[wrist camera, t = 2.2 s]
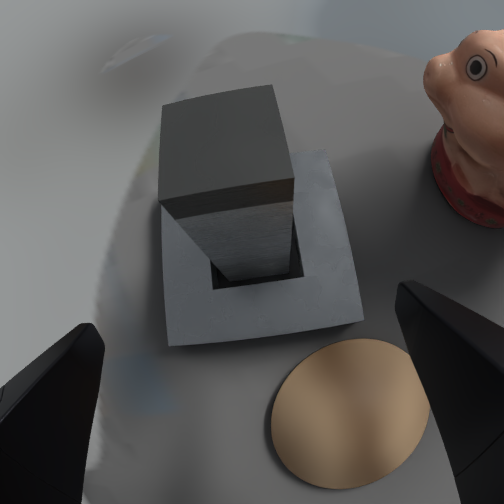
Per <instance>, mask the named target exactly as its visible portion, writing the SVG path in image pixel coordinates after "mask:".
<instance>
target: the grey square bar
mask: <svg viewBox="0 0 504 504" xmlns="http://www.w3.org/2000/svg"><path fill="white" fill-rule="evenodd" d="M294 181H295V177H294V172H293V168H292V163H291V159H290V155H289V150H288V146H287V142H286V137H285V133H284V129H283V125H282V121H281V117H280V113H279V109H278V105H277V101H276V97H275V94H274V90H273V86H272V85H265V86H258V87H251V88H244V89H238V90H232V91H226V92H221V93H216V94H211V95H206V96H201V97H196V98H192V99H187V100H183V101H179V102H175V103H171V104H167V105H163V106H162V118H161V133H160V151H159V178H158V201H159V202H160V204H161V205H162V206H163V207H164V208H165V209H166V211H167V212H168V213H169V214H170V215H171V216H172V217H173V219H174V220H175V221H176V222H177V223H178V224H179V225H180V227H181V228H182V229H183V230H184V231H185V232H186V233H187V235H188V236H189V237H190V238H191V239H192V240H193V241H194V242H195V244H196V245H197V246H198V247H199V248H200V249H201V250H202V251H203V253H204V254H205V255H206V256H207V257H208V258H209V259H210V260H211V261H212V263H213V264H214V265H215V266H216V267H217V268H218V269H219V270H220V271H221V272H222V274H223V275H224V276H225V277H226V278H227V279H228V280H229V281H238V280H245V279H252V278H259V277H266V276H273V275H280V274H287V273H289V263H290V249H291V234H292V218H293V201H294Z"/></svg>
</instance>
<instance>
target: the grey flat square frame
mask: <svg viewBox="0 0 504 504" xmlns="http://www.w3.org/2000/svg"><path fill="white" fill-rule="evenodd" d="M289 155H290V159H291V163H292V168H293V172H294V177H295V181H294V201H293V218H292V225H293V230H294V236H295V241H296V247H297V253H298V259H299V265H300V271H301V278H294V279H287V280H281V281H274V282H267V283H260V284H253V285H246V286H238V287H231V288H223V289H219V286H218V276H217V267H216V266H215V265H214V264H213V263H212V261H211V260H210V259H209V258H208V257H207V256H206V255H205V254H204V253H203V251H202V250H201V249H200V248H199V247H198V246H197V245H196V244H195V242H194V241H193V240H192V239H191V238H190V237H189V236H188V235H187V233H186V232H185V231H184V230H183V229H182V228H181V227H180V225H179V224H178V223H177V222H176V221H175V220H174V219H173V217H172V216H171V215H170V214H169V213H168V212H167V211H166V209H165V208H164V207H163V206H162V205H161V228H162V263H163V284H164V300H165V314H166V326H167V337H168V346H183V345H196V344H207V343H218V342H228V341H237V340H246V339H254V338H262V337H270V336H277V335H284V334H291V333H298V332H304V331H310V330H316V329H322V328H328V327H334V326H339V325H345V324H350V323H355V322H359V321H363V320H364V315H363V309H362V303H361V297H360V292H359V286H358V281H357V276H356V271H355V266H354V261H353V256H352V251H351V247H350V242H349V238H348V233H347V229H346V225H345V221H344V216H343V212H342V208H341V204H340V200H339V197H338V193H337V189H336V185H335V182H334V178H333V174H332V171H331V167H330V164H329V160H328V157H327V154H326V150H325V149H324V150H314V151H305V152H297V153H289Z"/></svg>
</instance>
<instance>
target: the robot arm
mask: <svg viewBox="0 0 504 504" xmlns="http://www.w3.org/2000/svg"><path fill="white" fill-rule="evenodd" d="M395 311H396V315H397V318H398V321H399V324H400V327H401V330H402V333H403V336H404V339H405V342H406V345H407V349H408V352H409V355H410V357H411V360H412V362H413V365H414V367H415V369H416V372H417V374H418V377H419V379H420V381H421V384H422V386H423V389H424V391H425V394H426V396H427V399H428V401H429V404H430V407H431V409H432V412H433V415H434V417H435V420H436V423H437V426H438V428H439V431H440V434H441V437H442V440H443V443H444V446H445V449H446V452H447V455H448V458H449V461H450V465H451V468H452V471H453V475H454V477H455V482H456V486H457V490H458V494H459V497H460V501H461V504H504V328H503V327H501V326H499V325H497V324H496V323H494V322H492V321H490V320H488V319H487V318H485V317H483V316H481V315H479V314H477V313H476V312H474V311H472V310H470V309H468V308H466V307H464V306H463V305H461V304H459V303H457V302H455V301H453V300H451V299H449V298H447V297H446V296H444V295H442V294H440V293H438V292H436V291H434V290H432V289H430V288H428V287H426V286H424V285H422V284H420V283H418V282H416V281H414V280H407V281H402V282H400V283H399V284H398V288H397V295H396V302H395ZM104 352H105V345H104V341H103V340H102V338H101V336H100V335H99V333H98V331H97V329H96V328H95V326H94V325H93V324H92V323H81V324H79V325H78V326H76V327H75V328H74V329H73V330H71V331H70V332H69V333H67V334H66V335H65V336H64V337H62V338H61V339H60V340H59V341H57V342H56V343H55V344H54V345H52V346H51V347H50V348H48V349H47V350H46V351H45V352H43V353H42V354H41V355H40V356H38V357H37V358H36V359H35V360H34V361H32V362H31V363H30V364H29V365H27V366H26V367H25V368H24V369H23V370H21V371H20V372H19V373H18V374H17V375H15V376H14V377H13V378H12V379H11V380H9V381H8V382H7V383H6V384H5V385H4V386H2V387H1V388H0V504H81V502H82V492H83V483H84V474H85V467H86V459H87V453H88V446H89V439H90V434H91V429H92V423H93V418H94V413H95V408H96V403H97V398H98V393H99V388H100V380H101V373H102V365H103V358H104Z"/></svg>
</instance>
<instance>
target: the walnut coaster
mask: <svg viewBox="0 0 504 504" xmlns="http://www.w3.org/2000/svg"><path fill="white" fill-rule="evenodd" d="M429 409H430V404H429V401H428V399H427V396H426V394H425V391H424V389H423V386H422V384H421V381H420V379H419V377H418V374H417V372H416V369H415V367H414V365H413V362H412V360H411V357H410V355H408V354H407V353H406V352H405V351H403V350H402V349H400V348H398V347H396V346H395V345H392V344H390V343H387V342H384V341H380V340H375V339H350V340H344V341H340V342H336V343H333V344H330V345H328V346H325V347H323V348H321V349H319V350H318V351H316V352H314V353H312V354H311V355H310V356H308V357H307V358H305V359H304V360H303V361H302V362H301V363H300V364H298V365H297V366H296V367H295V368H294V370H293V371H292V372H291V373H290V374H289V375H288V377H287V378H286V380H285V381H284V383H283V384H282V386H281V388H280V390H279V392H278V394H277V397H276V400H275V402H274V406H273V411H272V417H271V433H272V439H273V443H274V447H275V449H276V451H277V454H278V456H279V457H280V459H281V460H282V462H283V463H284V464H285V466H286V467H287V468H288V469H289V470H290V471H291V472H292V473H293V474H295V475H296V476H297V477H299V478H300V479H302V480H304V481H306V482H308V483H310V484H313V485H316V486H319V487H323V488H330V489H348V488H355V487H360V486H363V485H367V484H370V483H372V482H374V481H377V480H379V479H381V478H383V477H384V476H386V475H388V474H389V473H391V472H392V471H393V470H395V469H396V468H397V467H399V466H400V465H401V464H402V463H403V462H404V461H405V460H406V459H407V458H408V457H409V455H410V454H411V453H412V452H413V450H414V449H415V447H416V446H417V445H418V443H419V441H420V439H421V437H422V435H423V433H424V430H425V428H426V425H427V421H428V417H429Z"/></svg>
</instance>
